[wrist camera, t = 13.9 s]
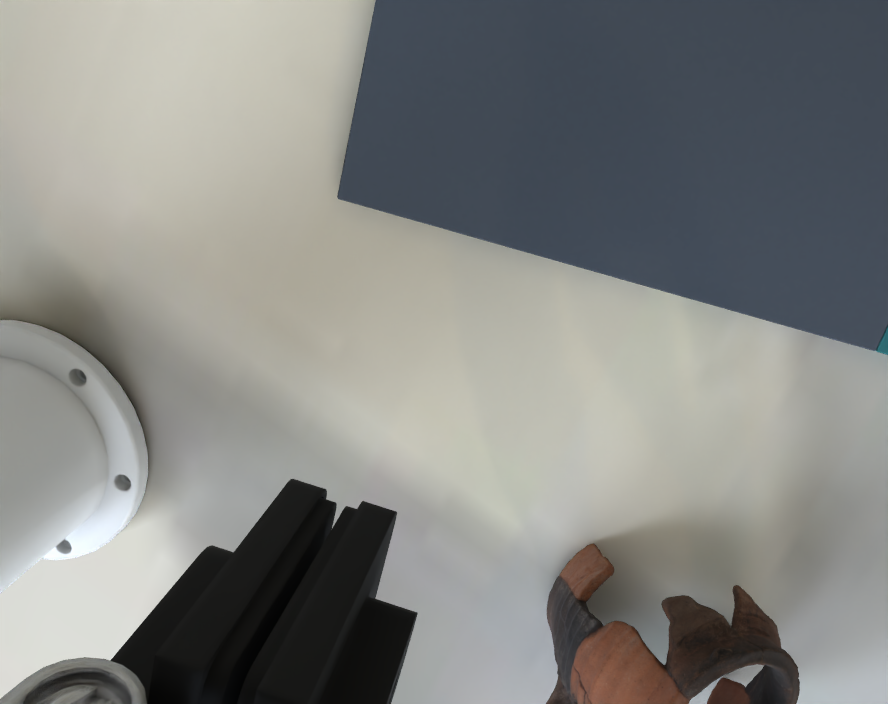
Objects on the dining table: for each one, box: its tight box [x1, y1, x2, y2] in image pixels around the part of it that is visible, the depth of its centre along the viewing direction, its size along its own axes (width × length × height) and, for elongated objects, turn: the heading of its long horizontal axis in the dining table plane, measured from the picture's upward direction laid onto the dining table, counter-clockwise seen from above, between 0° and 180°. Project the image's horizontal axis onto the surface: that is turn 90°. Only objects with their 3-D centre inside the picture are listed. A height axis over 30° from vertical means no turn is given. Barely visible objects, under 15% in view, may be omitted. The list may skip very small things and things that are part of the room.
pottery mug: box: [546, 544, 800, 704], centre depth 34 cm, size 12×10×8 cm
